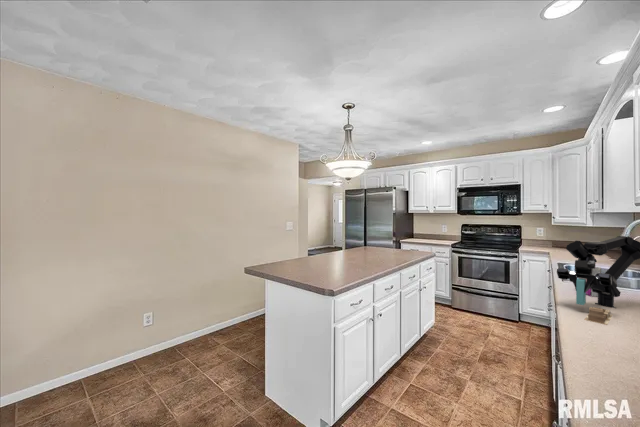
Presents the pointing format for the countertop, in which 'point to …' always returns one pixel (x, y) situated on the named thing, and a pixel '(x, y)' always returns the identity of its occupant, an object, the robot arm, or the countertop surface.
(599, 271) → the candy bar box
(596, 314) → the offcut stack
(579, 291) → the teal panel
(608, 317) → the rack
